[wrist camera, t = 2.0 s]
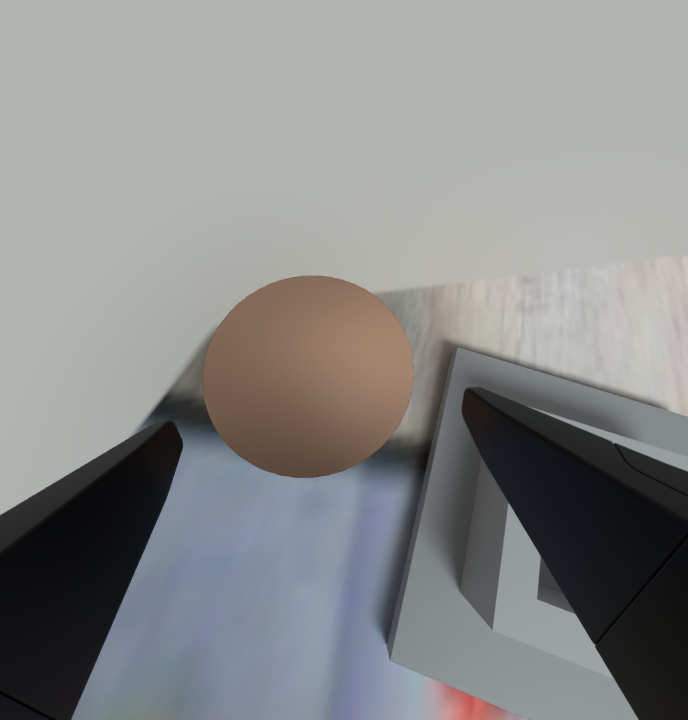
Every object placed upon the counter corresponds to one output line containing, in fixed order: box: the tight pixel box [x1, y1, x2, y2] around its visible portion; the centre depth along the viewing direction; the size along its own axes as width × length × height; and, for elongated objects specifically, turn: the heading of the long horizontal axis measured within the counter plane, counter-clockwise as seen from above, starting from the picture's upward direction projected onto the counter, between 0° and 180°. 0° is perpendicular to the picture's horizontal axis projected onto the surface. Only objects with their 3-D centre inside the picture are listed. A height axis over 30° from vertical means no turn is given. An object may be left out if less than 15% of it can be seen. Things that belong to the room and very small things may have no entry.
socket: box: [387, 347, 688, 720], centre depth 13 cm, size 16×14×4 cm
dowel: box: [203, 276, 414, 478], centre depth 11 cm, size 4×4×12 cm
